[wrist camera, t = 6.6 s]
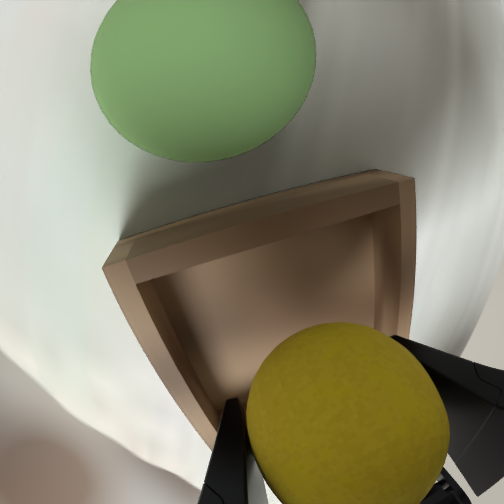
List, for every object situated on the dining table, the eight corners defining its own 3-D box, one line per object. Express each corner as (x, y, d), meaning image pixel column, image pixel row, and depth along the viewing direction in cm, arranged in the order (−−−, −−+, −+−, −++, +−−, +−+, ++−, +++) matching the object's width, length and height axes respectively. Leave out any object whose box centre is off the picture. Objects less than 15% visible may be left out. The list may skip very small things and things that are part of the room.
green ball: (291, 137, 10) (388, 139, 5) (139, 178, 9) (90, 217, 4) (256, 5, 8) (316, -79, 3) (106, 38, 7) (49, -36, 2)
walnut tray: (379, 352, 15) (401, 378, 13) (206, 415, 14) (211, 451, 12) (375, 168, 11) (414, 177, 9) (118, 240, 10) (101, 267, 8)
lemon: (373, 344, 12) (480, 472, 5) (270, 408, 12) (331, 561, 5) (334, 249, 10) (527, 418, 2) (196, 336, 10) (242, 579, 2)
